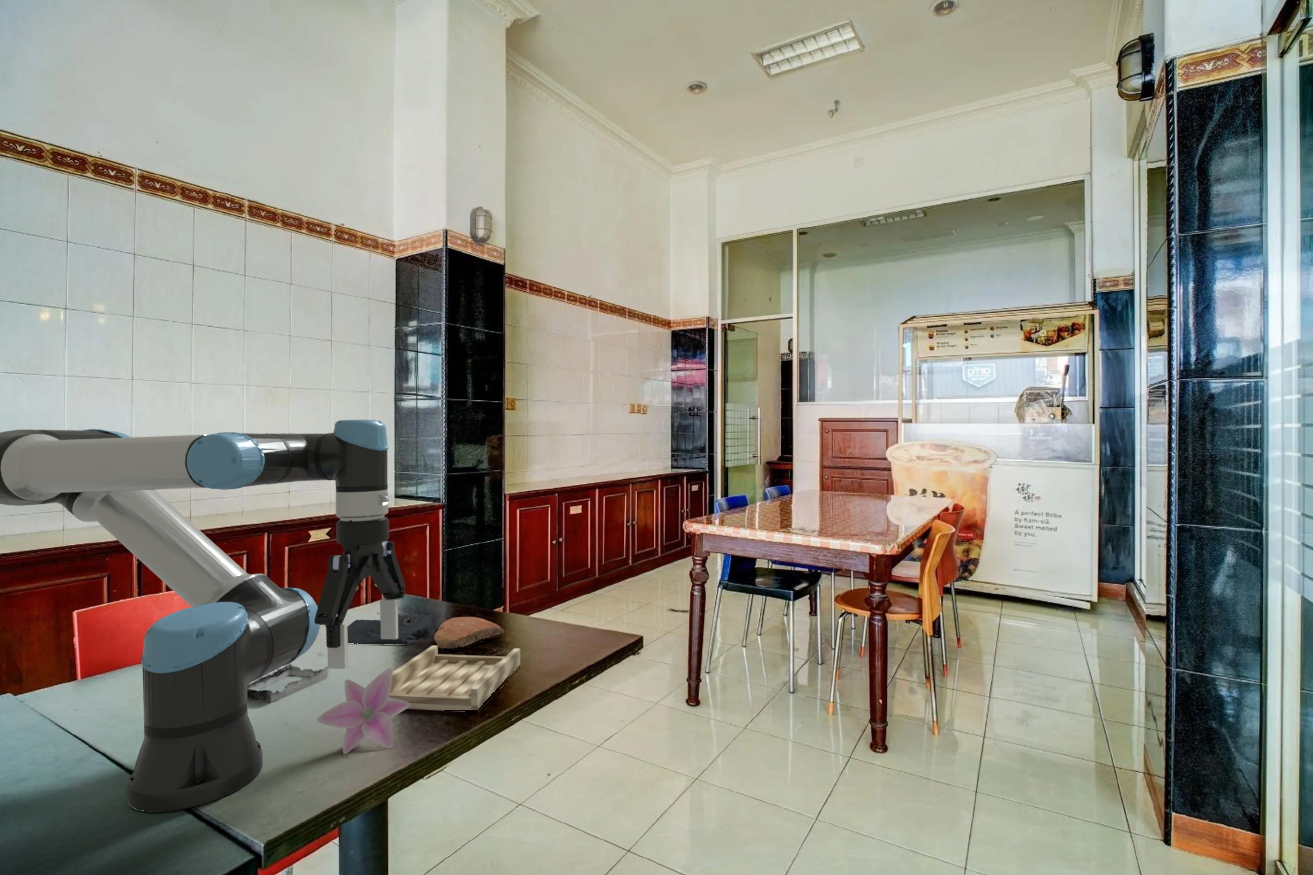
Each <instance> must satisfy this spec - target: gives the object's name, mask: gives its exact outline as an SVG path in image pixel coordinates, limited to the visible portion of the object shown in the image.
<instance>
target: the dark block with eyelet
mask: <svg viewBox="0 0 1313 875" xmlns="http://www.w3.org/2000/svg"><path fill="white" fill-rule="evenodd" d="M437 624H439V623H438V622H437V618H436V615H434V614H432V615H422V614H419V615H417V616H415V617H414V618H413V620H412V615H411V614H404V615H401V614H399V613H398V638H397V639H381V620H380V619H356V620H354V621H353V622H351V623H350V624H349V625H347V636H348V643H354V644H353V645H355V644H356V645H358V644H405V645H407V644H411V643H413V642H415V641H417V640H419V639H421V638H424V637H426V636H429V635H430V634H431V633H433V632H434V631H435V630H437ZM357 643H358V644H357ZM411 645H412V644H411Z"/></svg>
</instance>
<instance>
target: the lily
mask: <svg viewBox="0 0 1313 875" xmlns="http://www.w3.org/2000/svg"><path fill="white" fill-rule="evenodd" d="M392 672H393V669H392V668H387V669H385V670H383V671H382V672H380V674H378V675H377V676H376V677H375V678H374V679H372V680H371V681H370V682H369V683H368V685H367V686H365V688H364V686H362V685H361V684H359V683H357V682H355V681H353V680H350V679H345V681H344V695H345V700H346V701H344V702H341V703H339V704H336V705H335V706H333V707H331V708H329V709H328V710H326V711H324V712H323V713H322V714H321V715H319V716H318V717H317V718H316V721H317V723H320V724H323V725H326V726H330V727H335V728H337V729H338V728H339V729H343V730H345V733H344V737H343V746H342V753H343V755H345V754H348V753H349V752H350V751H351V750H352V749H354V748H355V747H356V746H358V745H359V743H360V742H361V741H362V740H363V739H364V738H367V739H368V740H370V741H371V742H374V743H376V744H378V745H379V746H382V747H383V748H386V749H391V748H393V747H394V733H393V727H392V725H393V724H392V721H391V718H393V717H395V716H397V715H398V714H400V713H401V712H403V711H405V710H406V709H407V708H408V707H409V706H410V705H411V704H410V703H408V702H406V701H403V700H399V699H394V698H389V697H390V692H391V684H392Z"/></svg>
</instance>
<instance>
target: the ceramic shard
mask: <svg viewBox="0 0 1313 875" xmlns="http://www.w3.org/2000/svg"><path fill="white" fill-rule="evenodd" d="M439 625H440V627H438V630H437V632H436V633H434V637H433V639H434V642H435V643H436V644H437V646H438V648H439V649H440V648H457V647H464V646H467V645H469V644H472V643H475V642H477V641H479V640H481V639H485V638H489V637H492V636H495V635H499V634H502V633H505V630H504V629H503V627H502V626H500V625H498V624H496V623H495V622H492V621H489V620H486V619H485V618H482V617H475V616H460V617H459V616H458V617H457V616H456V617H452V618H449V619H447V620H445V621H444V622H441V624H439Z"/></svg>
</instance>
